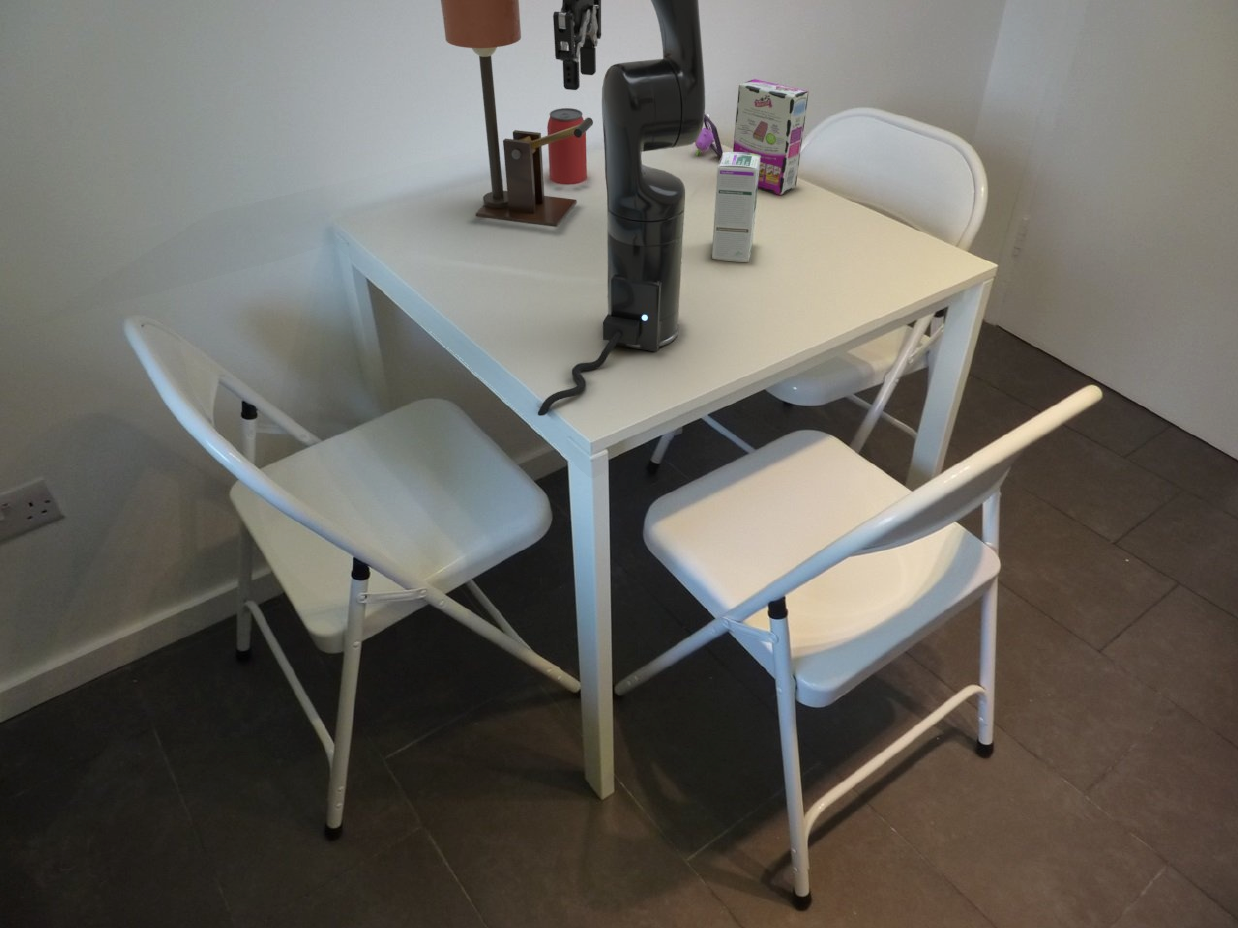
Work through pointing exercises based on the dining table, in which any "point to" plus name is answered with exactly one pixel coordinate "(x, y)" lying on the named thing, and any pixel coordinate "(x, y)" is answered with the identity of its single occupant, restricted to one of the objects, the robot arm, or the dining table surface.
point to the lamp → (485, 63)
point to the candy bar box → (771, 131)
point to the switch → (561, 134)
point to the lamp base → (527, 186)
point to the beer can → (567, 148)
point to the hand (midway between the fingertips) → (580, 81)
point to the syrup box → (735, 206)
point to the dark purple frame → (709, 138)
